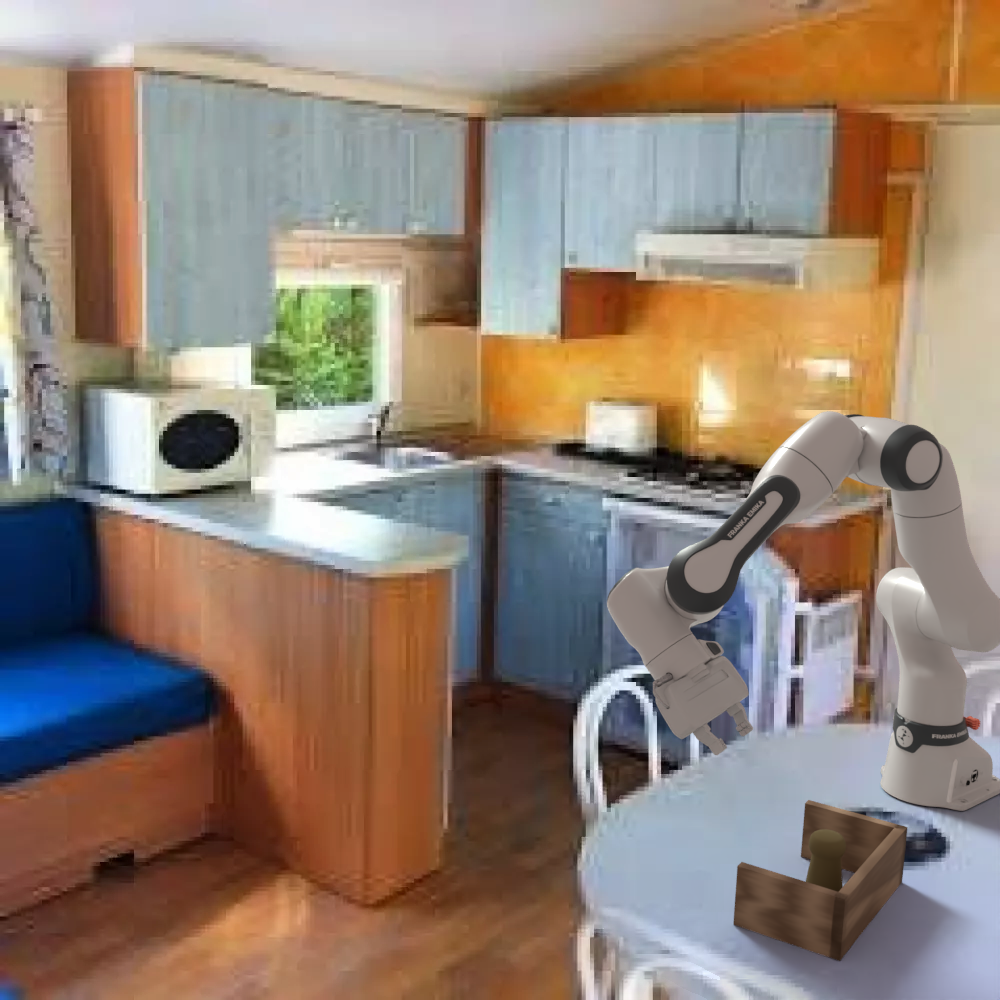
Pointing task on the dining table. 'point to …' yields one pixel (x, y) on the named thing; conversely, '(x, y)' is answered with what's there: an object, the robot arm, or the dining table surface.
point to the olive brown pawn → (826, 859)
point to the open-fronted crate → (817, 910)
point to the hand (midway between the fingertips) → (735, 742)
